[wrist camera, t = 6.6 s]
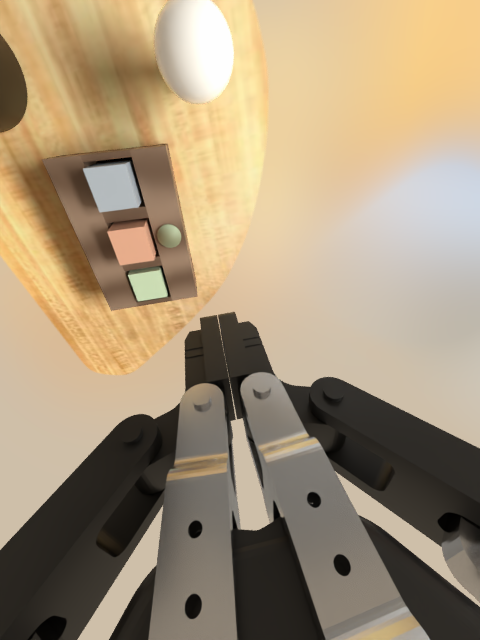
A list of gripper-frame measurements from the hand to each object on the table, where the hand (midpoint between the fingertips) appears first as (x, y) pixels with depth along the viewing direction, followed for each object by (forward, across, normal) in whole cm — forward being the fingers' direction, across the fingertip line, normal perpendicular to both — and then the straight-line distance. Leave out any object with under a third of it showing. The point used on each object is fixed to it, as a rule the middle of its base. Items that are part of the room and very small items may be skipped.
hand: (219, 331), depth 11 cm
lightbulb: (+29, -2, -12) cm, 32 cm away
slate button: (+26, +8, -3) cm, 28 cm away
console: (+29, +8, +3) cm, 30 cm away
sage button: (+28, +8, +9) cm, 30 cm away
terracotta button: (+26, +8, +3) cm, 28 cm away
